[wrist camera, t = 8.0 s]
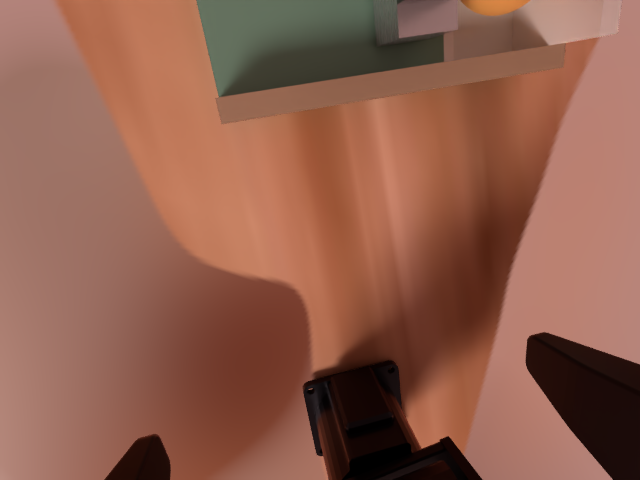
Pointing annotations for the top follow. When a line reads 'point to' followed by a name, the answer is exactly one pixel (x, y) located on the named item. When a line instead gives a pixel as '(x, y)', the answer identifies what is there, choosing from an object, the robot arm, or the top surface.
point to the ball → (494, 6)
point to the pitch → (376, 50)
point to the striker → (413, 20)
